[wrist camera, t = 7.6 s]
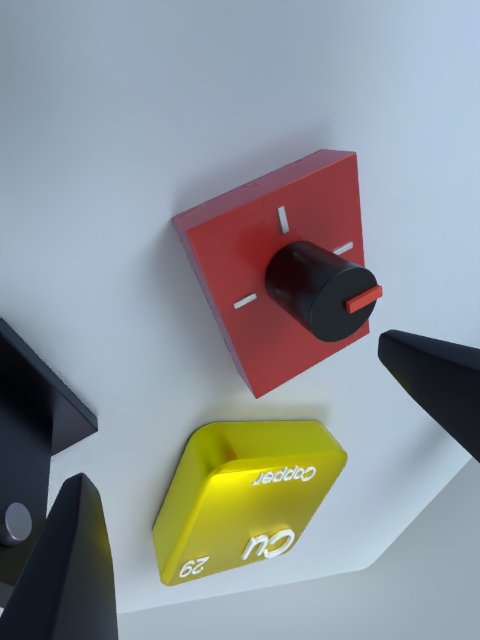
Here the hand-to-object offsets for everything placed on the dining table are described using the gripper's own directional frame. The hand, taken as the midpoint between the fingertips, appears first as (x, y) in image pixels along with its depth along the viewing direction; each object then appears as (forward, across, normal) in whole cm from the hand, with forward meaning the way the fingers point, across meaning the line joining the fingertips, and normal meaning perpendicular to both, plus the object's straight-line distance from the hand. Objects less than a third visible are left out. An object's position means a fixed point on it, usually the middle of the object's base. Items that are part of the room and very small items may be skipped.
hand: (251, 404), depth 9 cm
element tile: (+12, -1, +24) cm, 27 cm away
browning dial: (+9, -7, +2) cm, 12 cm away
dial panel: (+12, -7, +4) cm, 14 cm away
